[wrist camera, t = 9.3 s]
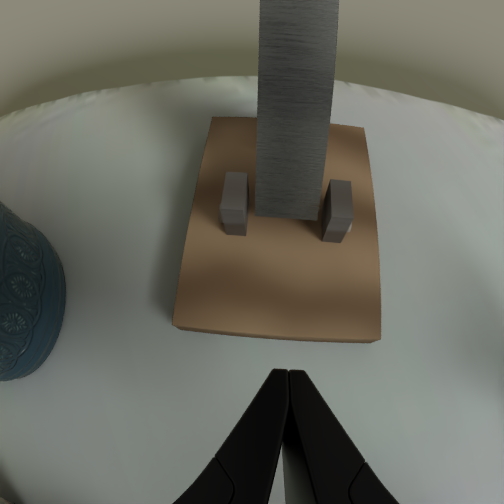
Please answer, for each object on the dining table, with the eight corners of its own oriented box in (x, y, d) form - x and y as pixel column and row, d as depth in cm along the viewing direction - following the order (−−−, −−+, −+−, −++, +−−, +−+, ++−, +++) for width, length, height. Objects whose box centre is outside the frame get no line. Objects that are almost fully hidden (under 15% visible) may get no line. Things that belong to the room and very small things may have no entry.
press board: (370, 343, 19) (421, 323, 12) (180, 329, 19) (138, 304, 13) (358, 143, 24) (380, 78, 18) (215, 133, 25) (203, 65, 19)
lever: (330, 222, 18) (357, -61, 8) (240, 216, 18) (243, -70, 8) (327, 205, 19) (349, -51, 10) (244, 199, 20) (248, -59, 10)
